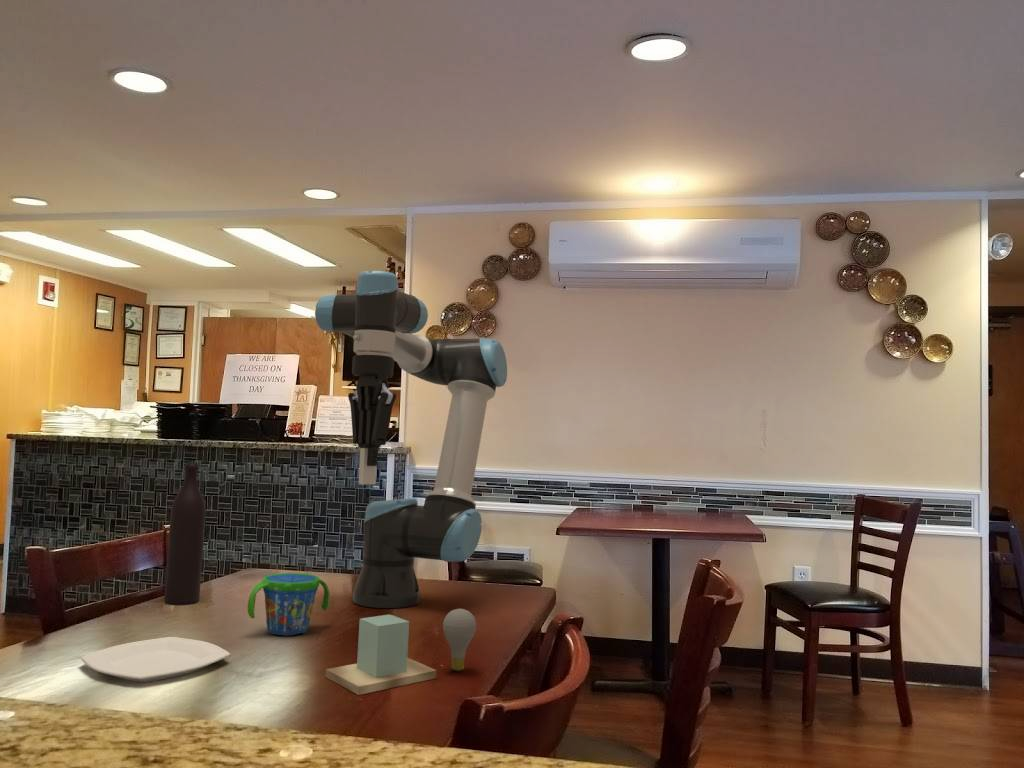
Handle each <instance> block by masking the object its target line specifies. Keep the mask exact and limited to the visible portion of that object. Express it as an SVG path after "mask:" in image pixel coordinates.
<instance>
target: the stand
mask: <svg viewBox="0 0 1024 768" xmlns="http://www.w3.org/2000/svg"><path fill="white" fill-rule="evenodd" d="M325 678H327V679H328V680H330V681H331V682H334V683H335V684H338V685H339V686H341V687H343V688H345V689H347V690H349V691H350V692H352V693H354V694H356V695H358V696H360V695H365V694H369V693H375V692H379V691H383V690H387V689H392V688H397V687H401V686H407V685H411V684H415V683H420V682H425V681H428V680H434V679H437V669H434V668H432V667H430V666H427V665H426V664H424V663H420V662H418V661H417V660H415V659H414V660H413V659H412V658H409V657H407V672H402V673H397V674H392V675H387V676H383V677H378V678H375V677H373V676H371V675H369V674H367V673H365V672H363V671H361V670H359V669H357V663H352V664H346V665H342V666H341V665H340V666H337V667H331V668H326V669H325Z"/></svg>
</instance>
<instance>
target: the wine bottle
mask: <svg viewBox="0 0 1024 768" xmlns="http://www.w3.org/2000/svg"><path fill="white" fill-rule="evenodd" d="M199 469H200V465H199V463H198V462H185V464H184V468H183V470H184V480H183V485H182V486H181V488H180V490H179V491H178V492H177V495H176V496H175V498H174V500H173V502H172V504H171V507H170V508H171V510H170V516H169V517H170V518H169V527H168V529H169V531H168V541H167V543H168V545H167V554H166V555H167V559H166V570H165V571H166V572H165V581H164V583H165V585H164V596H163V600H164V603H166V604H170V605H176V606H177V605H178V606H179V605H189V604H190V605H191V604H194V603H196V602H199V600H200V596H201V594H200V593H201V581H202V570H203V569H202V568H203V555H204V541H205V526H206V509H207V508H206V502H205V499H204V497H203V495H202V493H201V491H200V488H199V485H198V471H200V470H199Z"/></svg>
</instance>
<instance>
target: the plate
mask: <svg viewBox="0 0 1024 768" xmlns="http://www.w3.org/2000/svg"><path fill="white" fill-rule="evenodd" d="M228 657H231V653H230V652H229V651H228V650H226V649H224V648H222V647H220V646H218V645H216V644H213V643H211V642H208V641H203V640H198V639H192V638H191V639H190V638H183V637H175V636H168V637H167V636H166V637H160V638H153V639H144V640H140V641H139V640H138V641H132V642H128V643H122V644H117V645H114V646H113V645H112V646H109V647H107V648H104V649H100V650H97V651H94V652H91V653H89V654H86V655H83V656H81V657H80V660H81V661H82V662H83V663H84V664H85V665H86V666H88V667H89V668H90V669H92V670H94V671H96V672H98V673H101V674H105V675H110V676H113V677H115V678H119V679H123V680H127V681H132V682H133V681H134V682H140V683H141V682H142V683H146V682H147V683H149V682H154V681H159V680H165V679H170V678H175V677H179V676H183V674H184V675H188V674H191V673H194V672H196V671H198V669H199V670H201V668H202V669H204V668H206V667H209V666H210V664H211V665H212V663H213V664H214V663H217V662H219V661H221V660H224V659H225V658H228ZM208 665H209V666H208ZM203 667H204V668H203ZM195 670H196V671H195ZM193 671H194V672H193ZM190 672H191V673H190ZM187 673H188V674H187Z"/></svg>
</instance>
